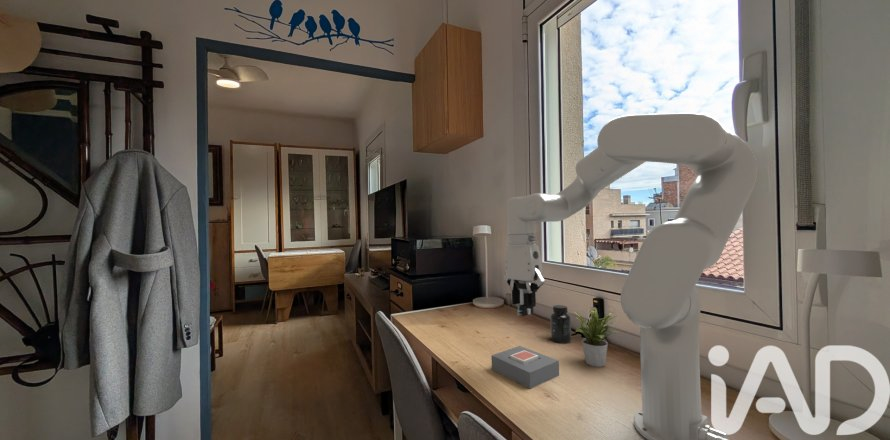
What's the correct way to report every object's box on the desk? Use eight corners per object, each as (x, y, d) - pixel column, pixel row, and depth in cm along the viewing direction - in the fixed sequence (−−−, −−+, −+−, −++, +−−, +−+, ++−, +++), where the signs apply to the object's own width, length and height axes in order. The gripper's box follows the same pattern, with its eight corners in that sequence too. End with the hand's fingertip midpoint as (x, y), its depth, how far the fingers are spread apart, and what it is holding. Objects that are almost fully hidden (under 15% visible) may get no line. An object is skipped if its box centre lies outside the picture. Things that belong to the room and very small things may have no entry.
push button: (525, 319, 85) (524, 281, 85) (508, 315, 89) (508, 279, 89) (538, 314, 90) (538, 278, 90) (522, 310, 94) (522, 276, 94)
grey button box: (559, 375, 87) (558, 360, 87) (530, 388, 80) (529, 372, 80) (520, 358, 99) (519, 345, 99) (491, 369, 92) (491, 355, 92)
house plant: (637, 375, 86) (635, 314, 87) (586, 376, 86) (584, 315, 87) (609, 354, 101) (608, 302, 101) (566, 355, 100) (564, 303, 101)
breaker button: (538, 368, 89) (538, 355, 89) (524, 374, 86) (523, 360, 86) (524, 362, 93) (524, 350, 93) (510, 367, 90) (510, 355, 90)
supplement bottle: (547, 338, 117) (546, 305, 117) (563, 336, 118) (562, 303, 119) (558, 344, 110) (557, 309, 110) (575, 342, 112) (574, 308, 112)
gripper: (555, 240, 85) (557, 308, 85) (508, 239, 99) (510, 298, 99) (537, 241, 81) (539, 313, 80) (491, 240, 95) (493, 302, 94)
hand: (523, 304), depth 89 cm, fingers closed on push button, 4 cm apart
